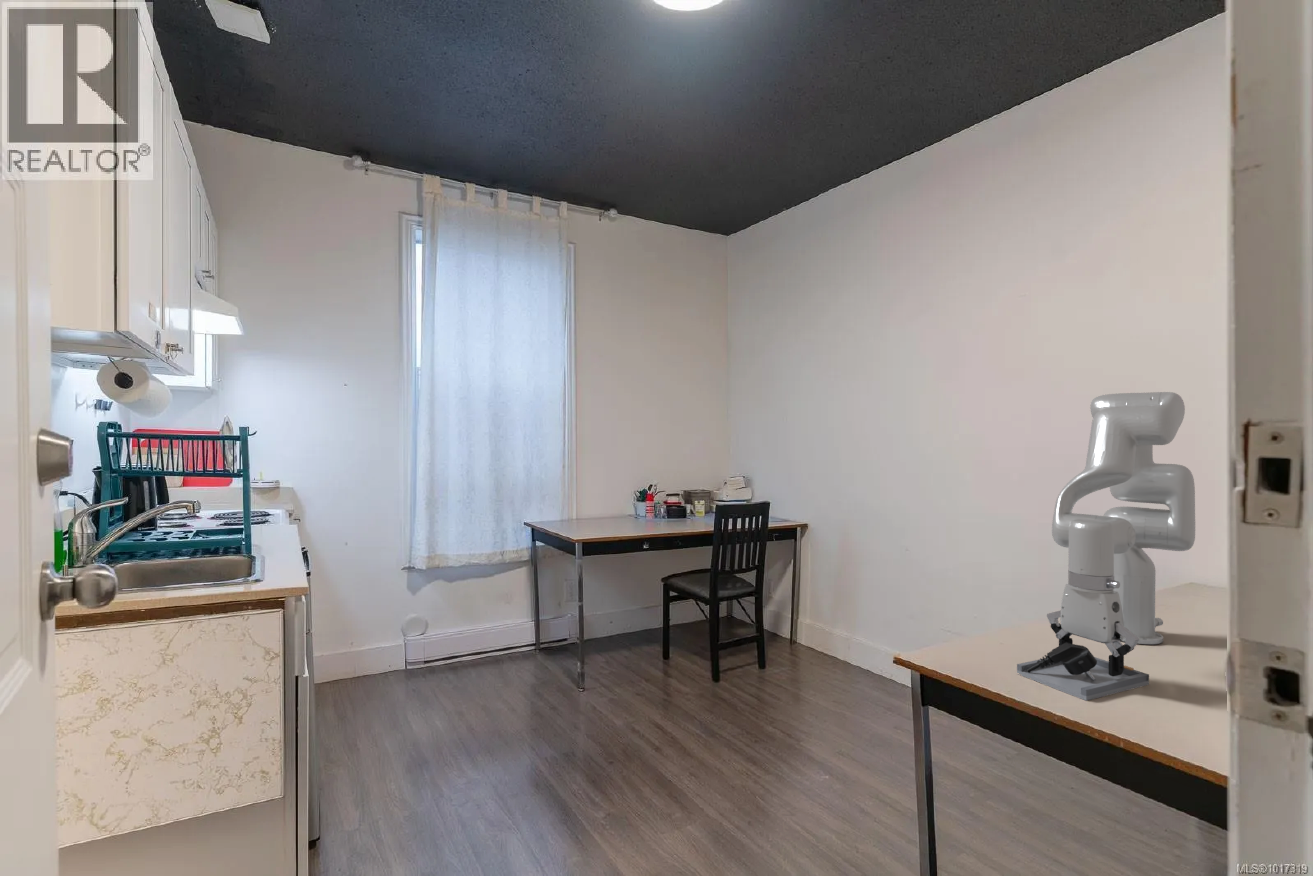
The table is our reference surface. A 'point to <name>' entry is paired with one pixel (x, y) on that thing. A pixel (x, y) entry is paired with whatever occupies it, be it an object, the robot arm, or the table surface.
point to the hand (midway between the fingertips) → (1089, 666)
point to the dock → (1085, 679)
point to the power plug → (1070, 659)
